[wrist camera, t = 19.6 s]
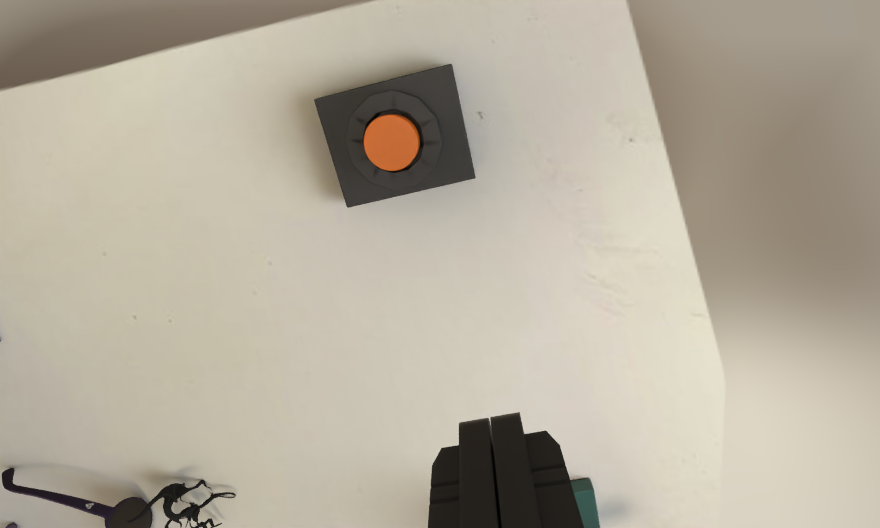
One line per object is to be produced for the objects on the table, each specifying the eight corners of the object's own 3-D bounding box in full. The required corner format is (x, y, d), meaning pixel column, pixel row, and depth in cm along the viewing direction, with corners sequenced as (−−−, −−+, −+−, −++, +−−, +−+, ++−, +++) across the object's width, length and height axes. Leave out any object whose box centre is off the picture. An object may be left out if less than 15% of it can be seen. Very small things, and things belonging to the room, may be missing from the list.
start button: (412, 108, 31) (410, 108, 29) (425, 161, 32) (423, 164, 30) (361, 121, 31) (356, 122, 30) (376, 172, 32) (371, 176, 31)
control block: (451, 65, 33) (451, 61, 29) (474, 173, 36) (476, 182, 32) (322, 99, 34) (305, 99, 30) (353, 201, 37) (341, 213, 33)
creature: (253, 496, 49) (200, 457, 45) (238, 548, 45) (177, 509, 41) (196, 520, 51) (140, 484, 47) (176, 573, 46) (112, 538, 42)
